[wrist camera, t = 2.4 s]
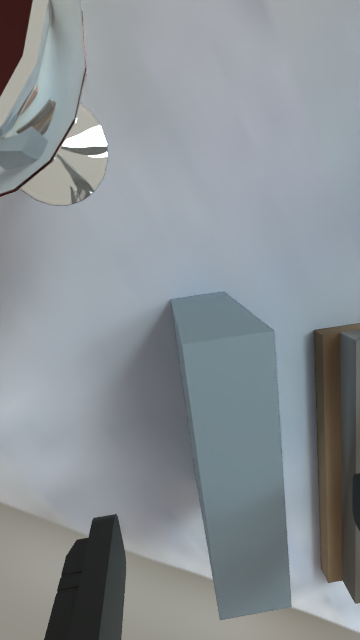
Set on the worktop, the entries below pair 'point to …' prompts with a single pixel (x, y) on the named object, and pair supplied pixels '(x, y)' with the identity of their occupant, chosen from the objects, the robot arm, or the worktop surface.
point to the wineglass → (46, 104)
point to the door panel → (235, 449)
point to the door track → (338, 451)
